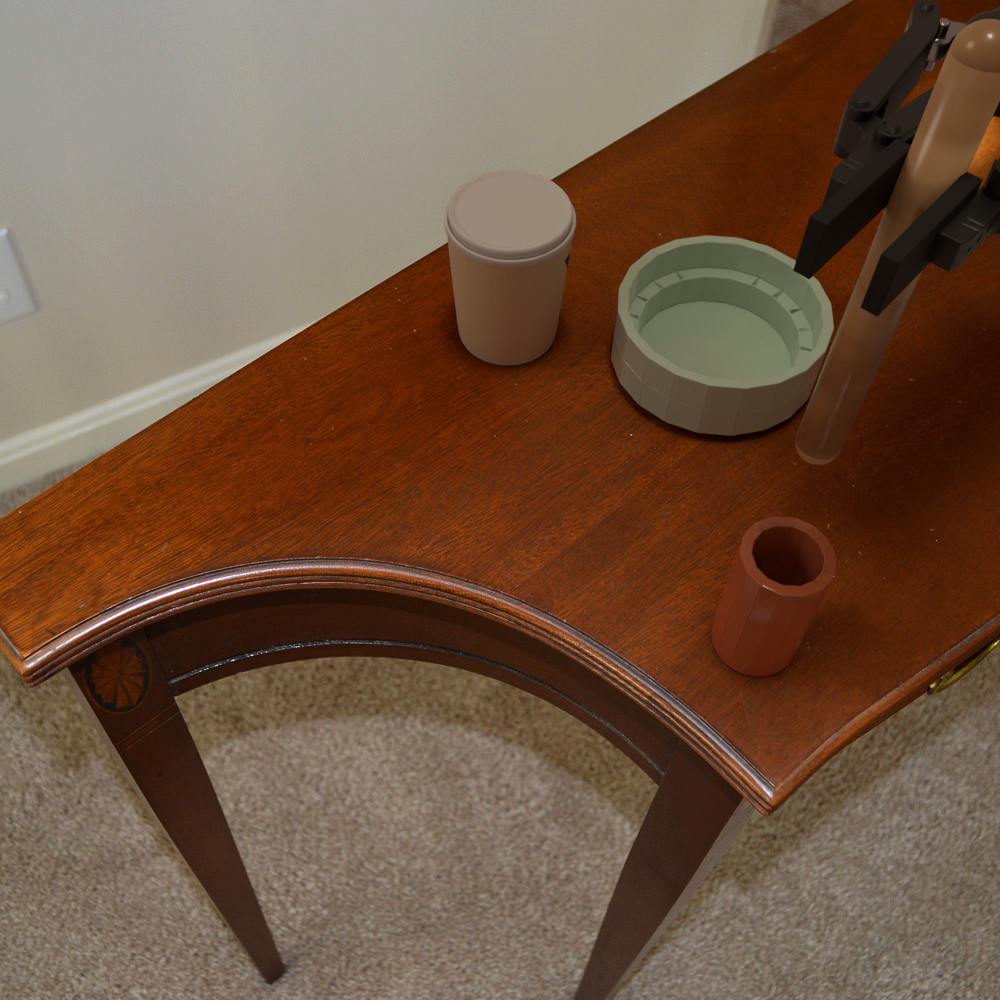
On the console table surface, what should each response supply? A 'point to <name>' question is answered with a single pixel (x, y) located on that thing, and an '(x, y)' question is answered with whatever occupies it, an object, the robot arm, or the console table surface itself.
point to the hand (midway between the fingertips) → (844, 266)
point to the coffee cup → (509, 263)
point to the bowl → (719, 334)
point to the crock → (772, 595)
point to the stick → (923, 179)
